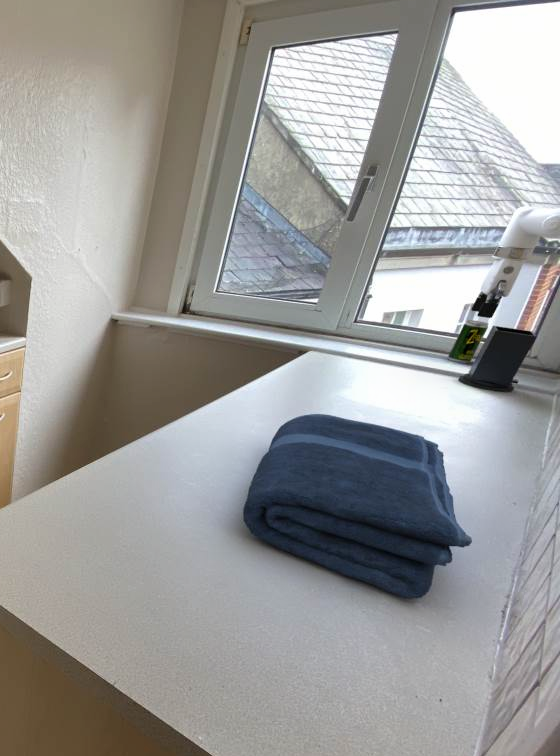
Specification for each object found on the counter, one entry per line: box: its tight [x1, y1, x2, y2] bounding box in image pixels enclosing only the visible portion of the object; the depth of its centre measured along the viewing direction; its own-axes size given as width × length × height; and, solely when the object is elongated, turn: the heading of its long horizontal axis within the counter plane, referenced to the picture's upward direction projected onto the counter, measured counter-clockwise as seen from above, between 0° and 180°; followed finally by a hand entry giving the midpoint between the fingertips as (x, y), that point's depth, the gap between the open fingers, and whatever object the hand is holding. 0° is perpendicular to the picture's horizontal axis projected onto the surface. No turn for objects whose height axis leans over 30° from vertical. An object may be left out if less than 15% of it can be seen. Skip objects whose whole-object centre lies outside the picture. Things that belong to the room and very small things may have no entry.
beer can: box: [447, 319, 489, 364], centre depth 166 cm, size 5×5×12 cm
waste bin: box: [463, 325, 538, 388], centre depth 144 cm, size 10×10×14 cm
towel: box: [242, 413, 473, 600], centre depth 85 cm, size 24×43×10 cm, turn 142°
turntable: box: [457, 375, 515, 393], centre depth 148 cm, size 11×11×1 cm
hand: (480, 314), depth 163 cm, fingers open, 9 cm apart
